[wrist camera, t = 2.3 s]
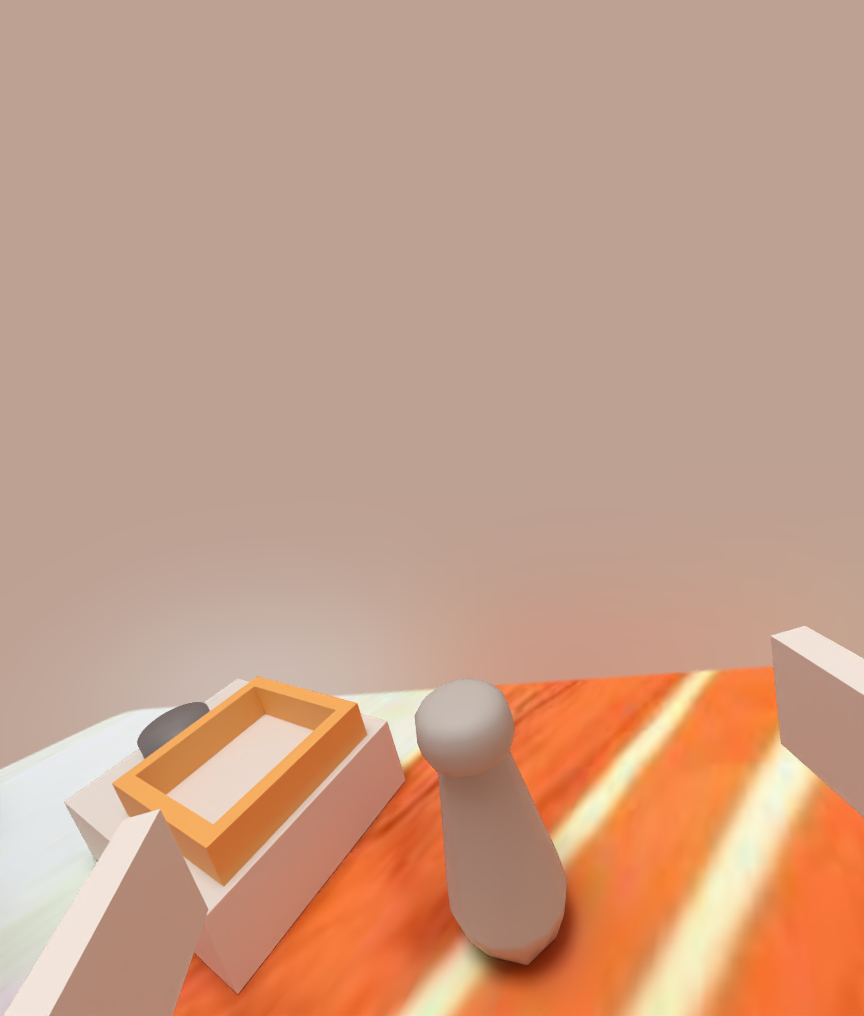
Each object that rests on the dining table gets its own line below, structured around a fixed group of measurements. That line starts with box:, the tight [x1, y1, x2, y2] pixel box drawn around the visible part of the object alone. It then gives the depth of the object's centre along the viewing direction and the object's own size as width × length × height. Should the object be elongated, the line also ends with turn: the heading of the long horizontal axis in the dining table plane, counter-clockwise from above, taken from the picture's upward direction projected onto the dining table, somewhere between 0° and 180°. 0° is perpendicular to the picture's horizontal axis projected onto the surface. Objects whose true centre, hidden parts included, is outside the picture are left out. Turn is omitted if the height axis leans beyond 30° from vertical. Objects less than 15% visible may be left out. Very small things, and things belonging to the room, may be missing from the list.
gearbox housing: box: [64, 677, 405, 994], centre depth 35 cm, size 21×14×8 cm, turn 55°
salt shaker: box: [415, 678, 567, 966], centre depth 23 cm, size 6×6×13 cm
